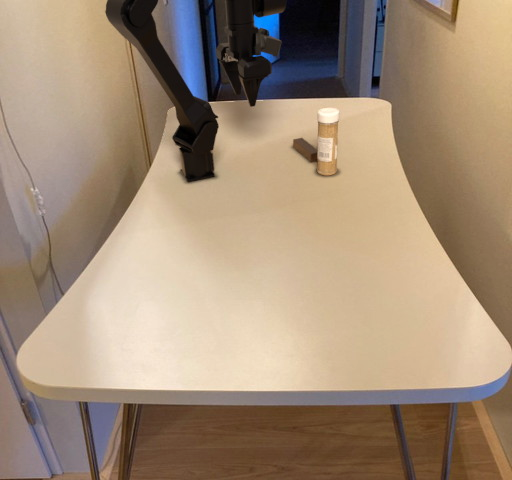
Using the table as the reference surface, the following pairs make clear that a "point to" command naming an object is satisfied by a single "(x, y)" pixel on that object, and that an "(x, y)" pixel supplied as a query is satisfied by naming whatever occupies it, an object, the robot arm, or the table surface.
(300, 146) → the walnut rail
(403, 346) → the table surface
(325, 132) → the spice jar
